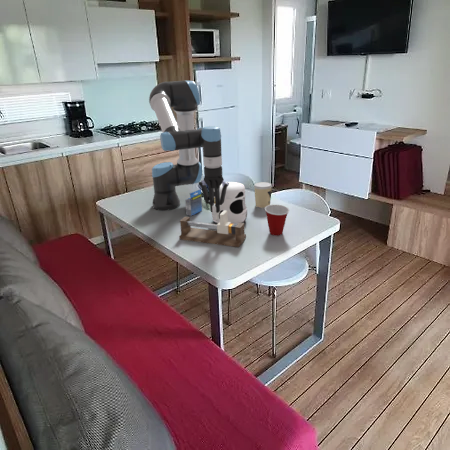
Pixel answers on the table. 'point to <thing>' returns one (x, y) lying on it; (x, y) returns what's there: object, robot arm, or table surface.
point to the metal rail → (211, 226)
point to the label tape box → (194, 203)
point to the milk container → (233, 203)
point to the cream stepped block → (223, 223)
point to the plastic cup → (276, 218)
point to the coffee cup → (262, 194)
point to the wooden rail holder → (212, 235)
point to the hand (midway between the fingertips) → (215, 218)
